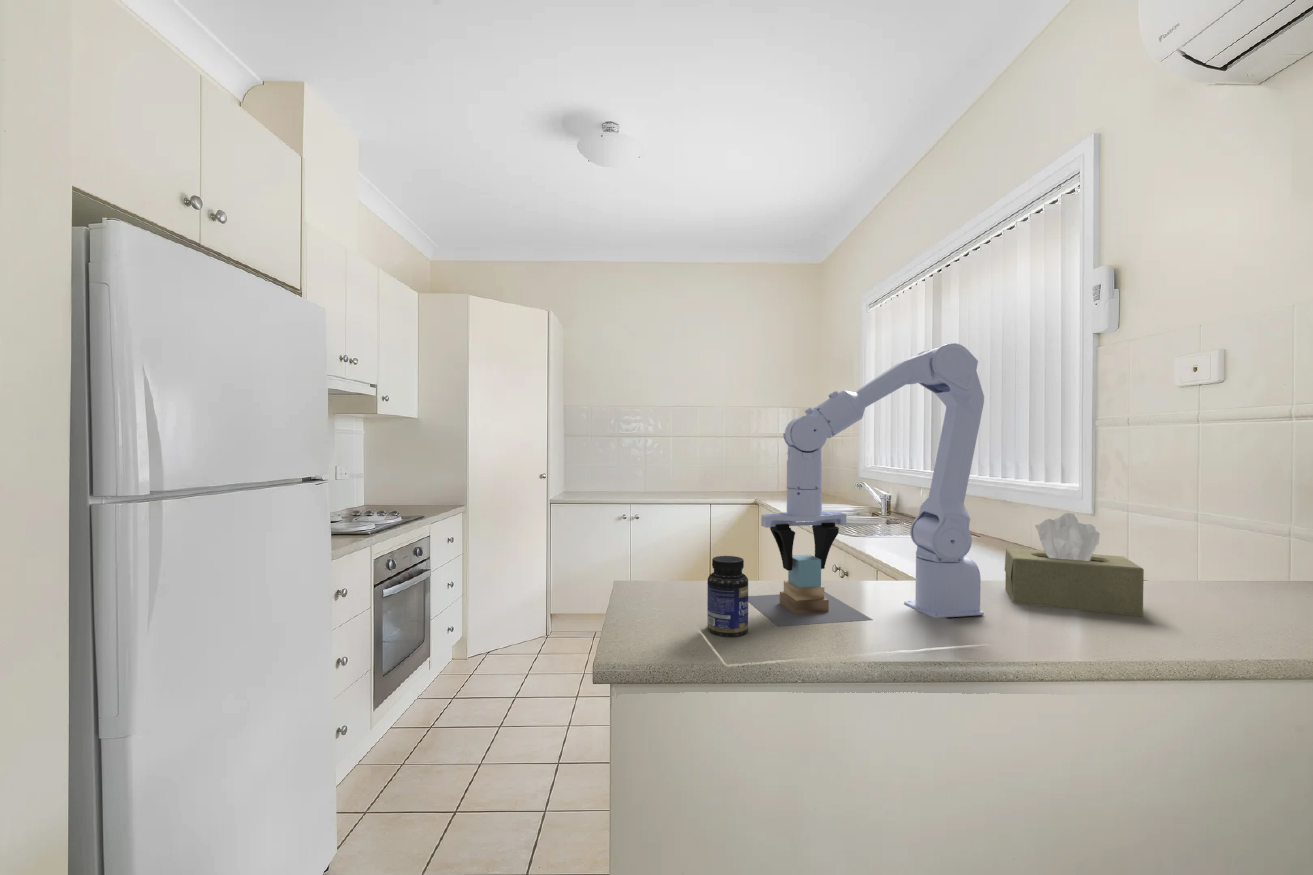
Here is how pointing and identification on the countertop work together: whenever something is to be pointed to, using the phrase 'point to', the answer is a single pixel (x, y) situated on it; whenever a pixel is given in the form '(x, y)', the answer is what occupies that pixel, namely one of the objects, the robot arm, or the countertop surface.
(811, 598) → the tower mid
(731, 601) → the pill bottle
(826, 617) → the mat
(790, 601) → the tower base
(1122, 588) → the tissue box
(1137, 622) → the countertop surface
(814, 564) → the block
